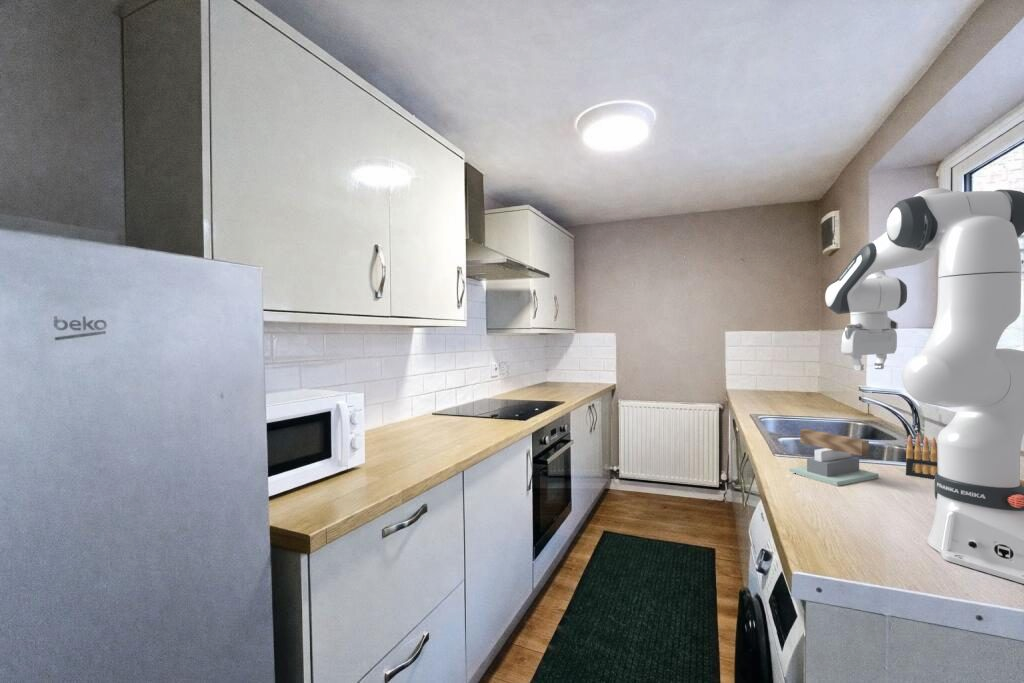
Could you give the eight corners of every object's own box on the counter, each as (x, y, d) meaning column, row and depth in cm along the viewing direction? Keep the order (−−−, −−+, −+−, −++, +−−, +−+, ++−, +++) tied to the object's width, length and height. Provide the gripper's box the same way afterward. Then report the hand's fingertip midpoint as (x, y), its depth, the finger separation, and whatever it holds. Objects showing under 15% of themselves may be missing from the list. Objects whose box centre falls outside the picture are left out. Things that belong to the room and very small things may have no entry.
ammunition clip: (905, 475, 135) (905, 434, 135) (906, 473, 137) (905, 433, 136) (955, 482, 128) (955, 440, 128) (956, 481, 129) (955, 438, 129)
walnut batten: (868, 454, 128) (868, 440, 128) (861, 456, 127) (861, 441, 127) (807, 441, 145) (806, 429, 145) (800, 442, 144) (800, 429, 144)
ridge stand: (878, 477, 133) (878, 450, 133) (836, 486, 126) (836, 457, 126) (829, 465, 146) (829, 440, 146) (789, 472, 139) (789, 446, 139)
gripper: (857, 323, 131) (857, 372, 131) (901, 323, 138) (902, 369, 138) (834, 324, 137) (835, 370, 137) (878, 324, 144) (878, 367, 144)
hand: (869, 369), depth 138 cm, fingers open, 8 cm apart
